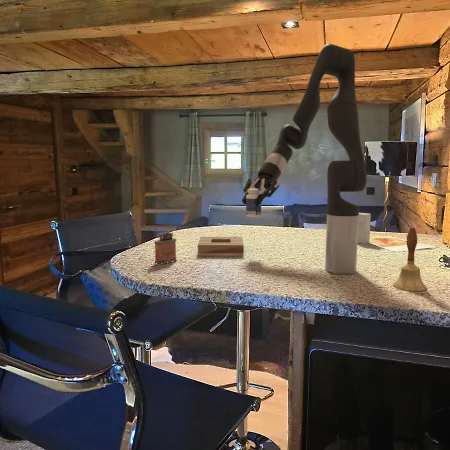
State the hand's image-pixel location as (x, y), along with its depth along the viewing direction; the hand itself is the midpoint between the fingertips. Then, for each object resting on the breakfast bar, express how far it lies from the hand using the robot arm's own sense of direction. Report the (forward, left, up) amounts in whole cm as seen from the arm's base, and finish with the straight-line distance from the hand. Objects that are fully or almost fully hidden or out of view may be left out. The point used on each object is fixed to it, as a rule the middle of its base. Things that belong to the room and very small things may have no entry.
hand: (250, 203), depth 150 cm
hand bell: (-39, -41, -19) cm, 59 cm away
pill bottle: (+1, -1, -5) cm, 5 cm away
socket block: (+5, +10, -18) cm, 22 cm away
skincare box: (+23, -47, -18) cm, 55 cm away
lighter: (-12, +28, -18) cm, 36 cm away
